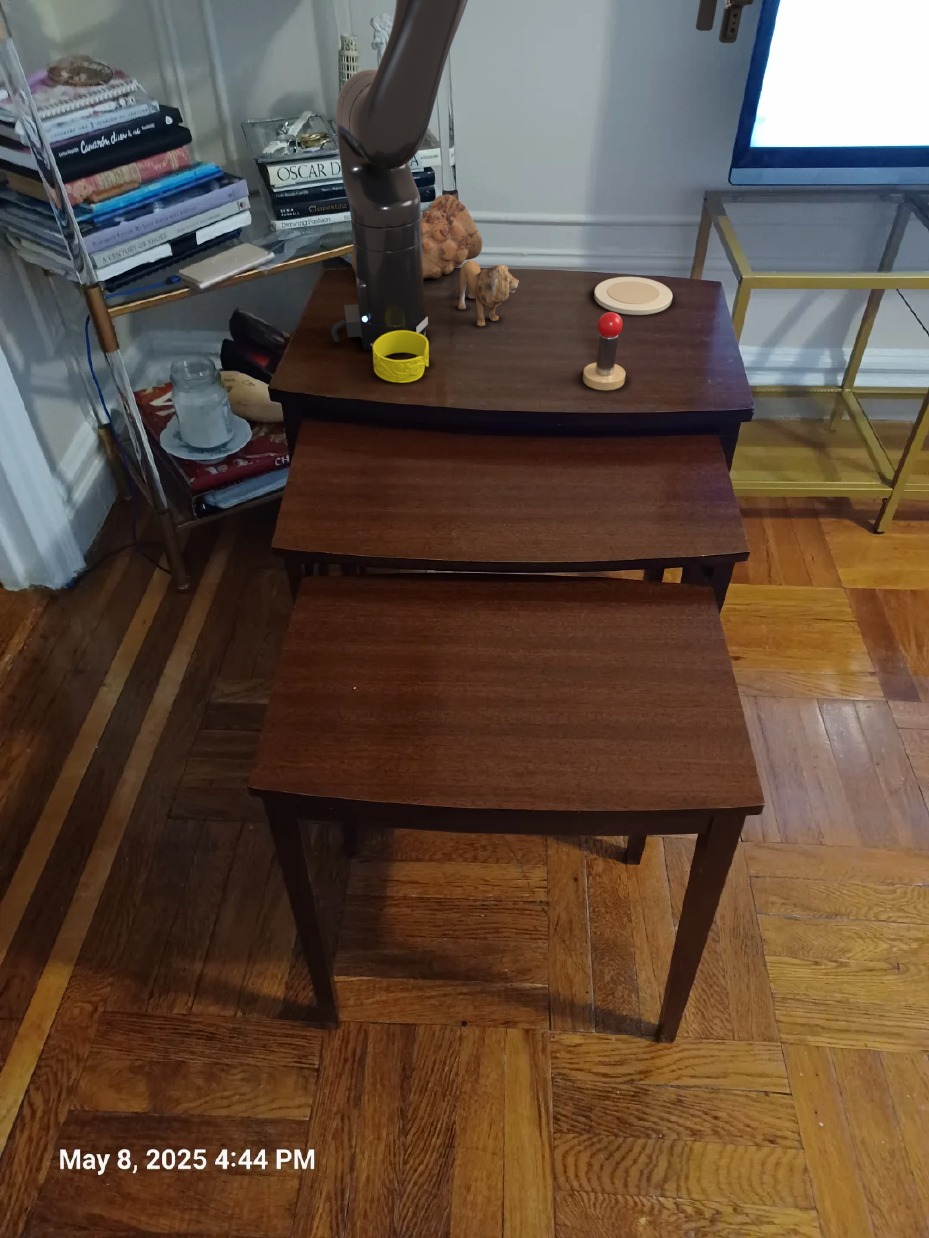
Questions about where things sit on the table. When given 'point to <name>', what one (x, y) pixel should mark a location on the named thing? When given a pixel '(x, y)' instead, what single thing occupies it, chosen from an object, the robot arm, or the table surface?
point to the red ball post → (606, 356)
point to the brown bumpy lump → (446, 237)
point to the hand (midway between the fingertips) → (715, 36)
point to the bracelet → (399, 344)
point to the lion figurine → (485, 287)
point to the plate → (633, 295)
